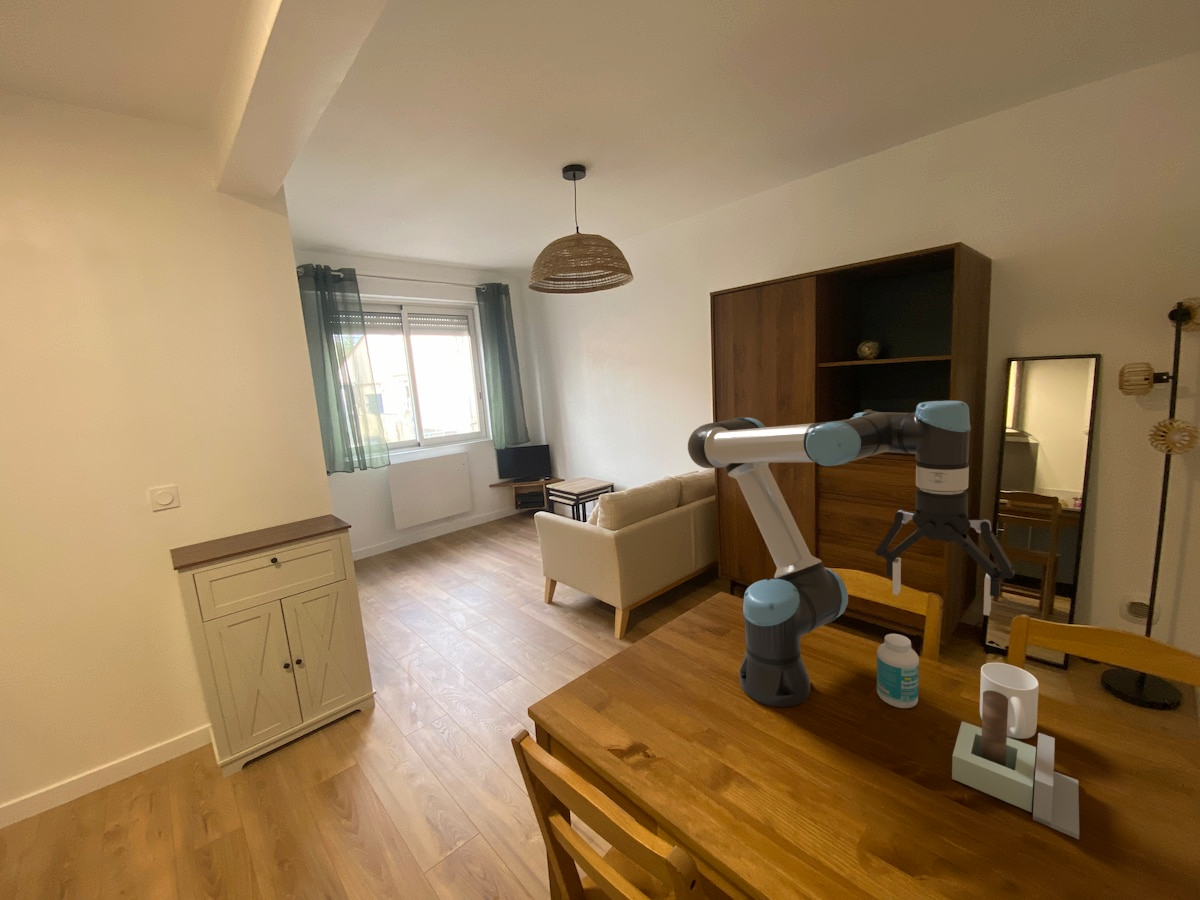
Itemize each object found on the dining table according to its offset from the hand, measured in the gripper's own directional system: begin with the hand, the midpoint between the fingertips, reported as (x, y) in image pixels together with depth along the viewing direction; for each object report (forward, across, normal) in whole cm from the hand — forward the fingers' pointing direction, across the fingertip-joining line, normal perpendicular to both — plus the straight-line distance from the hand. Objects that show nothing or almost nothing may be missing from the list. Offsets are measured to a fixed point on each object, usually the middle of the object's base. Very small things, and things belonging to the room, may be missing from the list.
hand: (939, 601), depth 87 cm
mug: (+27, +10, +8) cm, 30 cm away
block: (+27, +9, -6) cm, 29 cm away
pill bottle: (+27, -8, +6) cm, 29 cm away
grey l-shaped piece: (+27, +16, -6) cm, 32 cm away
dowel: (+27, +9, -6) cm, 29 cm away
